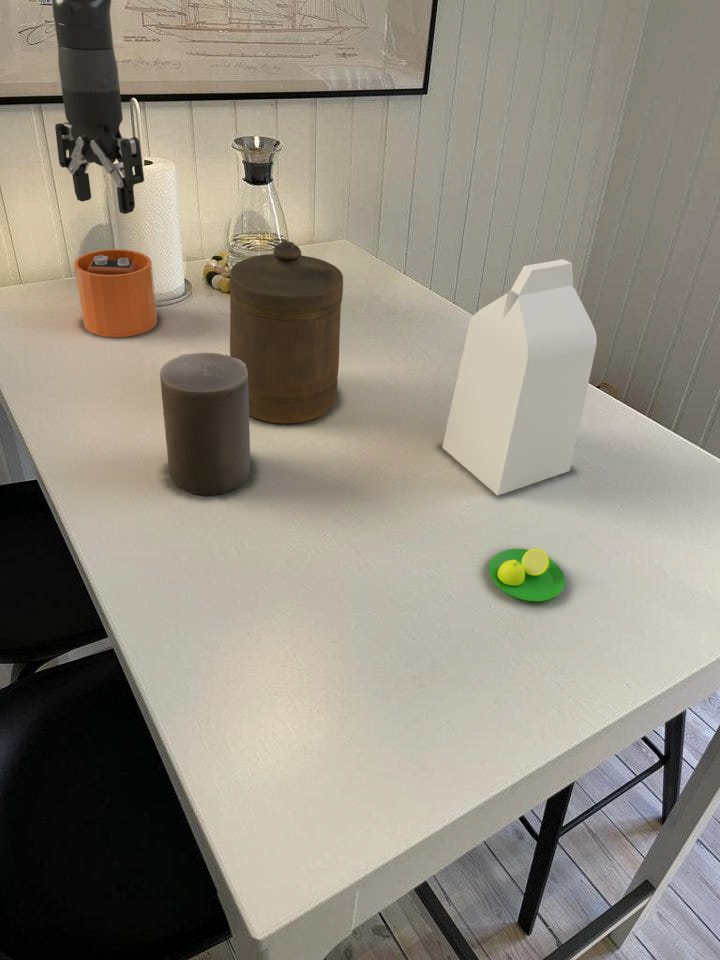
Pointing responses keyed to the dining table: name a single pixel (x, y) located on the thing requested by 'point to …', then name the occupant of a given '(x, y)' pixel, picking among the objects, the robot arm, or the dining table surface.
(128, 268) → the battery
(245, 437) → the pillar candle
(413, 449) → the dining table surface
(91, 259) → the pot
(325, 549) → the dining table surface
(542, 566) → the plate of lemons
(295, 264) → the wooden container
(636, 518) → the dining table surface
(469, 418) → the milk
